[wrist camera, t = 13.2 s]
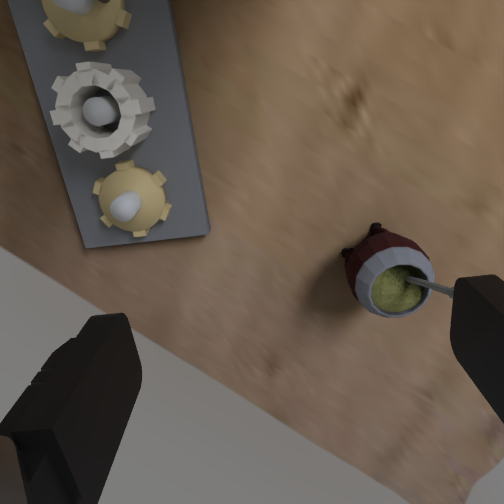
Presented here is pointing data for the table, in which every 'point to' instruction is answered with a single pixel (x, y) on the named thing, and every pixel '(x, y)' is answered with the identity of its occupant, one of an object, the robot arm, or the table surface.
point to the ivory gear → (86, 86)
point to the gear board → (164, 120)
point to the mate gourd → (390, 274)
